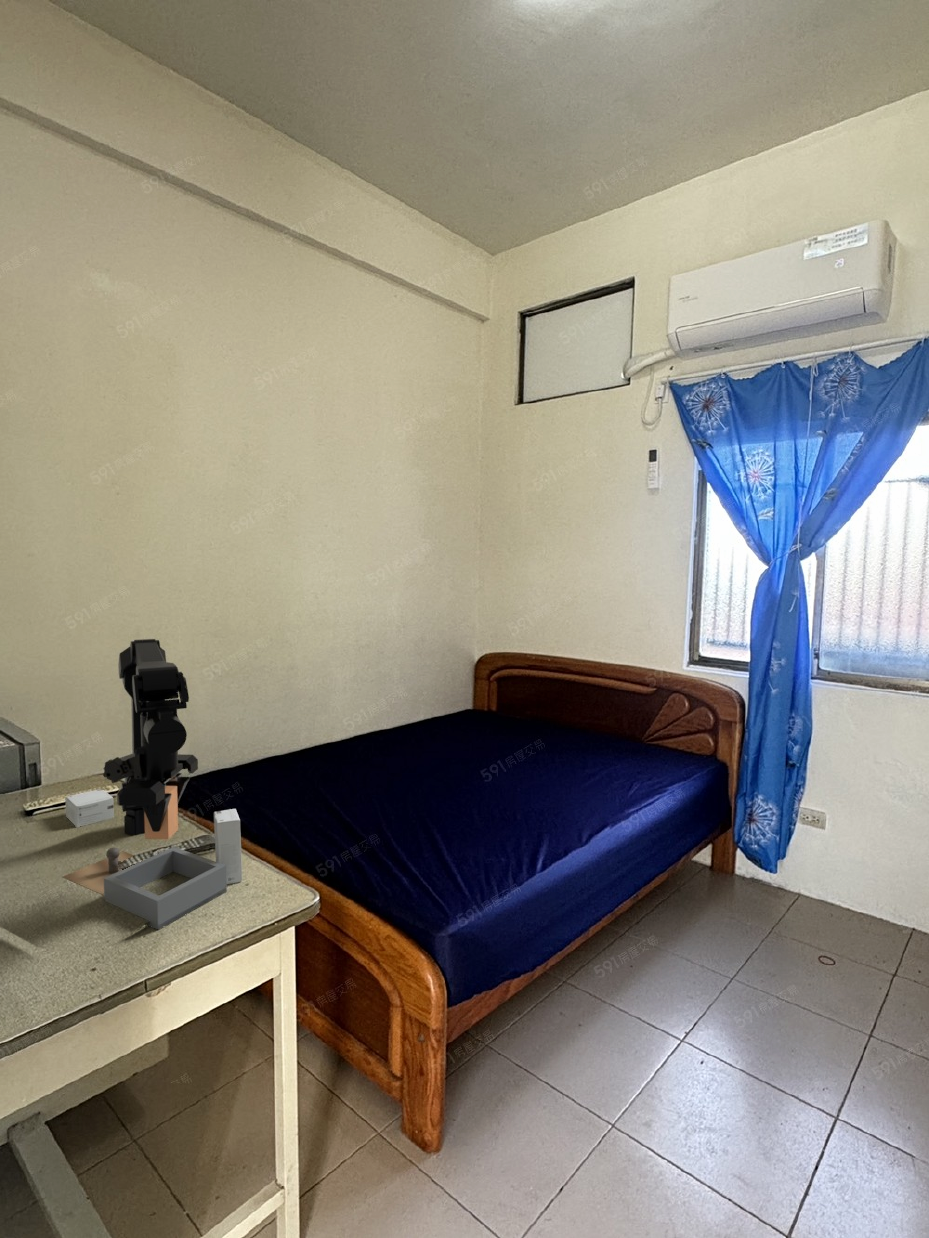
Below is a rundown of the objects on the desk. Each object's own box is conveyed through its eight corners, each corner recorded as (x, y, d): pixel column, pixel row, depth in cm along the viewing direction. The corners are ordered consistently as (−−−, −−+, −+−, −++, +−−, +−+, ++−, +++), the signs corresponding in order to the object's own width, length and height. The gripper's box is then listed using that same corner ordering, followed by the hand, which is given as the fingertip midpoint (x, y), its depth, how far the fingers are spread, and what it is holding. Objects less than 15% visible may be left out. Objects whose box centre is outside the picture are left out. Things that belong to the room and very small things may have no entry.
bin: (174, 871, 126) (174, 846, 126) (226, 891, 120) (226, 865, 119) (104, 905, 114) (103, 878, 113) (158, 930, 107) (157, 901, 107)
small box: (76, 828, 144) (75, 806, 143) (65, 817, 149) (64, 796, 149) (114, 818, 150) (114, 797, 149) (102, 808, 155) (102, 787, 154)
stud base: (123, 855, 132) (122, 828, 131) (163, 871, 126) (162, 843, 126) (62, 881, 122) (61, 852, 121) (103, 900, 116) (101, 869, 115)
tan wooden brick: (155, 829, 118) (154, 785, 117) (178, 829, 118) (177, 785, 117) (145, 838, 114) (143, 793, 113) (168, 839, 114) (167, 794, 113)
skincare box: (243, 881, 123) (242, 819, 122) (217, 886, 121) (216, 823, 120) (238, 867, 129) (238, 807, 127) (214, 871, 127) (213, 810, 125)
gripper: (137, 724, 123) (140, 805, 125) (82, 754, 104) (85, 849, 106) (198, 724, 123) (199, 805, 125) (153, 755, 105) (155, 850, 106)
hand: (161, 826), depth 115 cm, fingers closed on tan wooden brick, 4 cm apart
